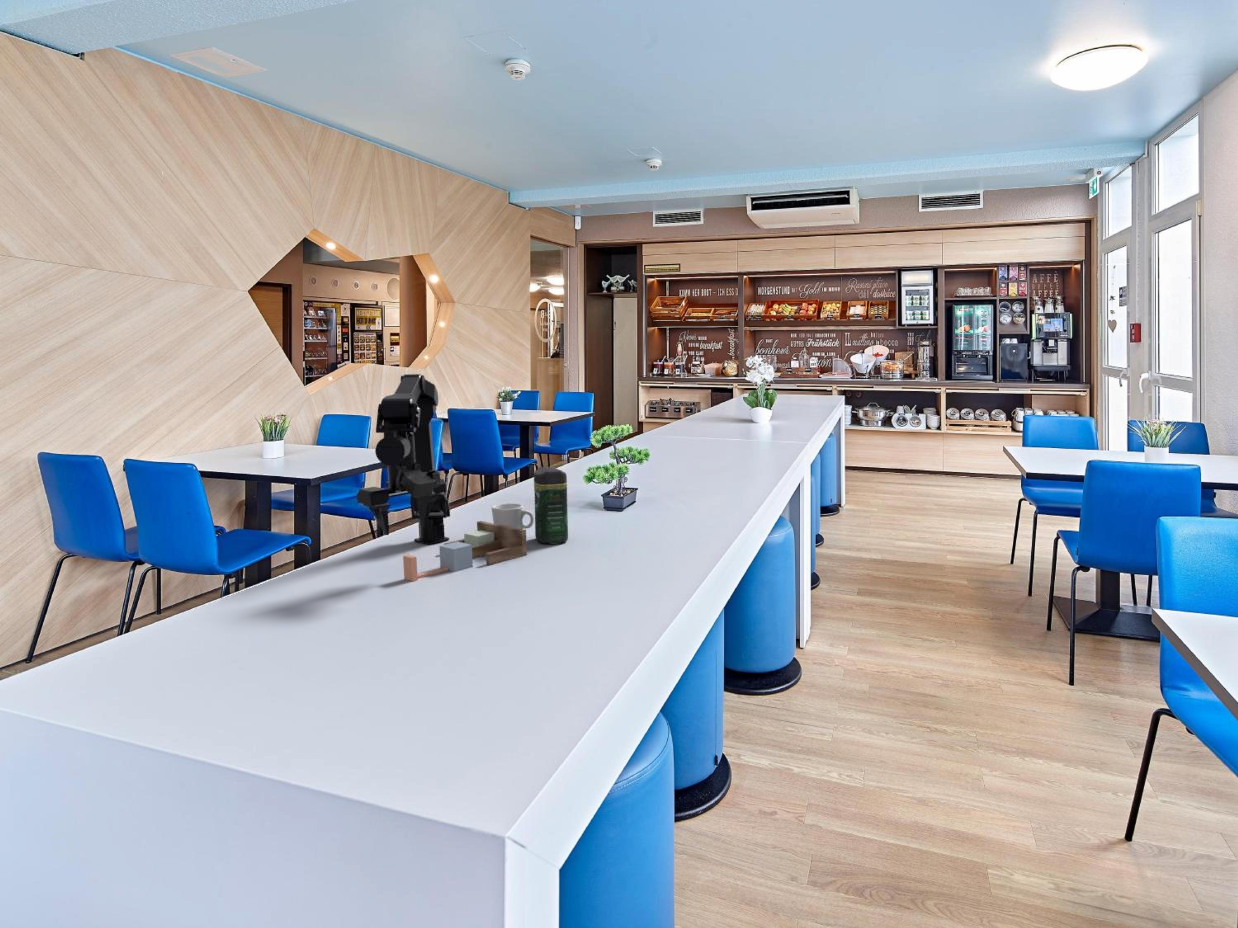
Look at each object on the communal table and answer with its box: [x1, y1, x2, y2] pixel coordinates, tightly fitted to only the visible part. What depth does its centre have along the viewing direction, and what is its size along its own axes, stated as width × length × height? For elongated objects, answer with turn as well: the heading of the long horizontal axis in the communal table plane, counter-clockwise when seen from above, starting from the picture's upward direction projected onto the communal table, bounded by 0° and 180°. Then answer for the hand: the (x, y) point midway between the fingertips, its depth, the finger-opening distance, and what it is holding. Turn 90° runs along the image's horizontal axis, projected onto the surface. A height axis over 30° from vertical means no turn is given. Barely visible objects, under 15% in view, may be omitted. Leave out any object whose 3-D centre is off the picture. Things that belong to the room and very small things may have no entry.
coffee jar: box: [533, 466, 569, 545], centre depth 200 cm, size 10×8×19 cm
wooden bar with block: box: [402, 542, 474, 582], centre depth 173 cm, size 5×15×5 cm, turn 140°
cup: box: [491, 502, 535, 530], centre depth 205 cm, size 11×8×8 cm
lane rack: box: [443, 520, 528, 566], centre depth 188 cm, size 16×11×6 cm
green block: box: [463, 530, 494, 546], centre depth 191 cm, size 5×5×4 cm
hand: (405, 530), depth 169 cm, fingers open, 9 cm apart
